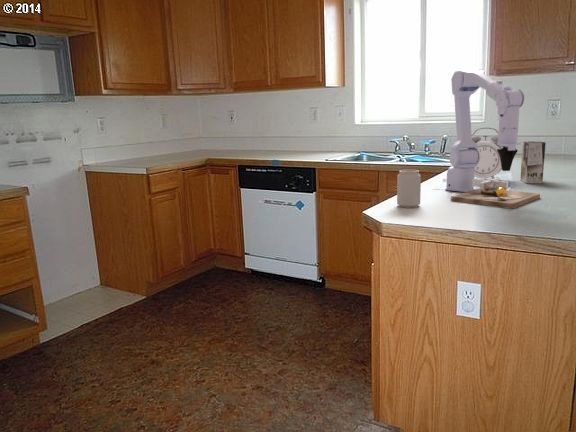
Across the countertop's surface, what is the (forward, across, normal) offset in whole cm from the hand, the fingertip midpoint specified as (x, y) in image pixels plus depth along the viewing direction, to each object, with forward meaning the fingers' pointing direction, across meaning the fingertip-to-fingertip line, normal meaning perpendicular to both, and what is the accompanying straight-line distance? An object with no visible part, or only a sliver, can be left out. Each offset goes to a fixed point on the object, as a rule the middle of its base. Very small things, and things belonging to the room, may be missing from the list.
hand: (505, 170), depth 159 cm
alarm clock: (+11, +46, 0) cm, 47 cm away
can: (+11, -8, +31) cm, 34 cm away
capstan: (+9, +6, +3) cm, 11 cm away
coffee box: (+11, +41, -18) cm, 46 cm away
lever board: (+10, +4, +2) cm, 11 cm away
